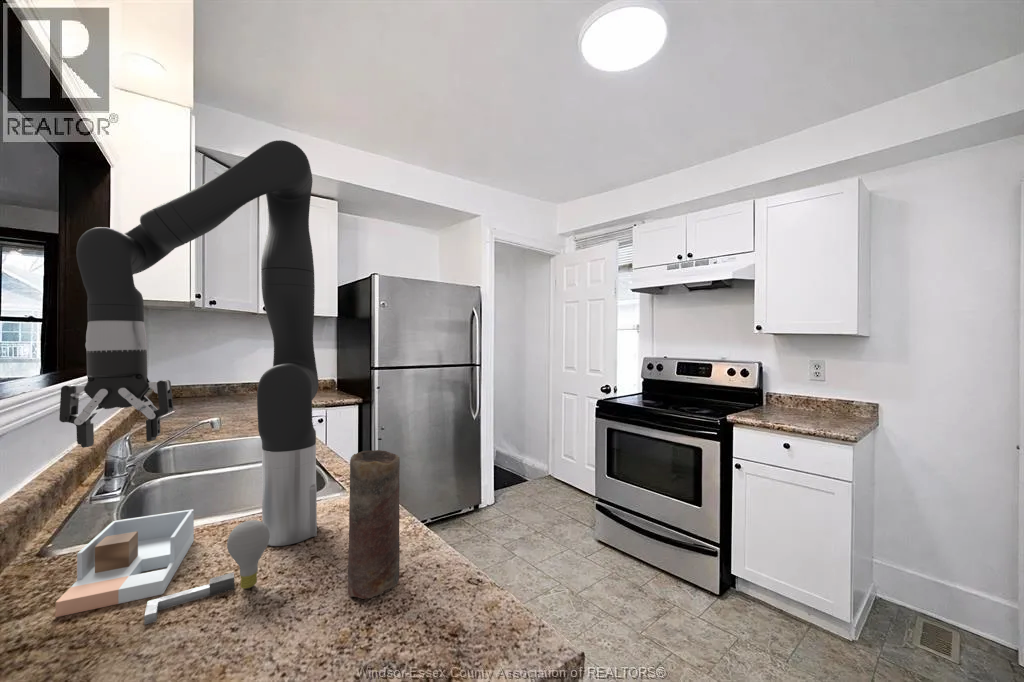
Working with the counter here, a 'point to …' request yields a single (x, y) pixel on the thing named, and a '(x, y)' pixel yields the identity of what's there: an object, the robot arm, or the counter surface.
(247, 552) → the light bulb
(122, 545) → the walnut cube
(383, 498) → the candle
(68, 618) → the counter surface
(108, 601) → the cubby
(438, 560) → the counter surface
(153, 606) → the hook tool
